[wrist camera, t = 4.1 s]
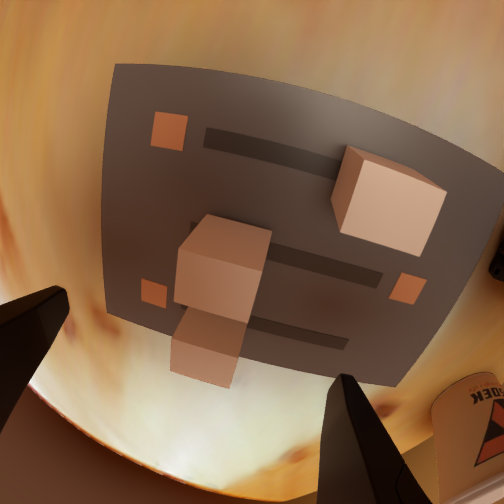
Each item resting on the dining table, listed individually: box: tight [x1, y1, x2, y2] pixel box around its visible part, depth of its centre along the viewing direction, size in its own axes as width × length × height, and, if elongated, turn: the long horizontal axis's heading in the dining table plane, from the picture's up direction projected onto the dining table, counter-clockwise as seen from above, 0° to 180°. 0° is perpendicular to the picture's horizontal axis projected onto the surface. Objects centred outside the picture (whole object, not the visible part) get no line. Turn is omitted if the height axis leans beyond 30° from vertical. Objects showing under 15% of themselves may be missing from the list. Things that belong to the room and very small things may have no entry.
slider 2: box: [170, 306, 247, 389], centre depth 15 cm, size 3×2×4 cm
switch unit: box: [101, 64, 504, 387], centre depth 16 cm, size 20×15×3 cm
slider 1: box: [174, 214, 272, 323], centre depth 12 cm, size 3×2×4 cm
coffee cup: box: [431, 372, 504, 504], centre depth 16 cm, size 9×9×12 cm
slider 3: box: [331, 145, 447, 257], centre depth 10 cm, size 3×2×4 cm
